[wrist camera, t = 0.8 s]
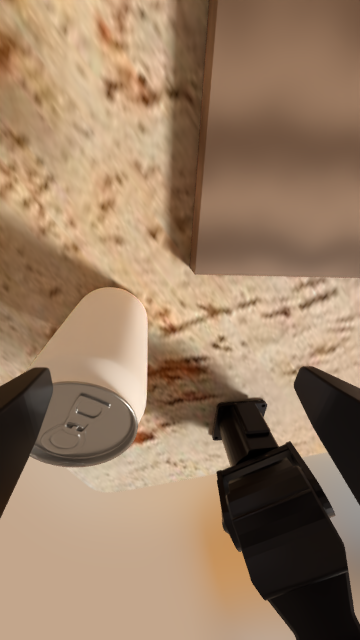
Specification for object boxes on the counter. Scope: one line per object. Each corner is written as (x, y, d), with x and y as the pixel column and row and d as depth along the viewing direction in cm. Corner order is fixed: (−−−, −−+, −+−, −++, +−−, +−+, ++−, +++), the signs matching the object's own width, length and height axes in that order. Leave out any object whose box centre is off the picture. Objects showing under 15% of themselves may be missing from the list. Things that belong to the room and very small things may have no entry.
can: (64, 326, 20) (-28, 450, 10) (99, 270, 19) (33, 348, 8) (124, 357, 23) (103, 484, 12) (160, 310, 21) (173, 411, 10)
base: (347, 271, 22) (370, 278, 19) (189, 267, 19) (195, 274, 17) (439, 36, 15) (490, 5, 13) (210, -12, 13) (223, -61, 10)
